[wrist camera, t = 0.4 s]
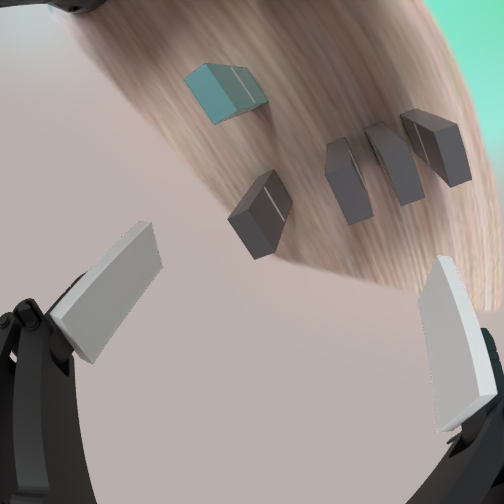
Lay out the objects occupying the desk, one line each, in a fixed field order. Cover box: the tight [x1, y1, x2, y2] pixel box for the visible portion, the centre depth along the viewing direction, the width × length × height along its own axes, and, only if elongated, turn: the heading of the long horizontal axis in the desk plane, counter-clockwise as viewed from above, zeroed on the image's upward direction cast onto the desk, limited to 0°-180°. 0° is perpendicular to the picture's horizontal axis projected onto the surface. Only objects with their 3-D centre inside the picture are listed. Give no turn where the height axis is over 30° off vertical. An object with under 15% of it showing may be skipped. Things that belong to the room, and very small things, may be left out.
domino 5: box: [400, 109, 472, 188], centre depth 22 cm, size 5×2×12 cm, turn 32°
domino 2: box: [228, 170, 292, 259], centre depth 31 cm, size 5×2×12 cm, turn 32°
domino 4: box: [364, 122, 425, 206], centre depth 24 cm, size 5×2×12 cm, turn 32°
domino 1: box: [184, 63, 268, 125], centre depth 25 cm, size 5×2×12 cm, turn 32°
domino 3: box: [325, 137, 374, 225], centre depth 27 cm, size 5×2×12 cm, turn 32°
